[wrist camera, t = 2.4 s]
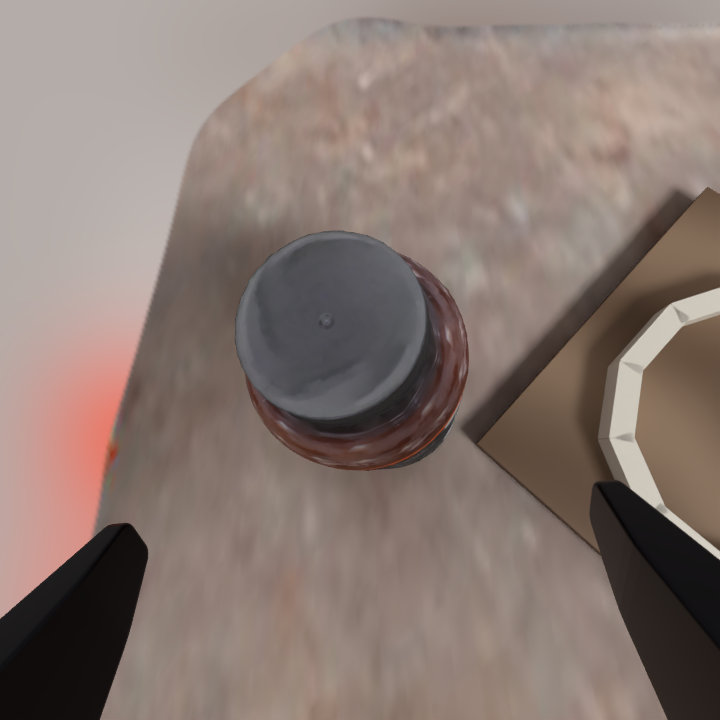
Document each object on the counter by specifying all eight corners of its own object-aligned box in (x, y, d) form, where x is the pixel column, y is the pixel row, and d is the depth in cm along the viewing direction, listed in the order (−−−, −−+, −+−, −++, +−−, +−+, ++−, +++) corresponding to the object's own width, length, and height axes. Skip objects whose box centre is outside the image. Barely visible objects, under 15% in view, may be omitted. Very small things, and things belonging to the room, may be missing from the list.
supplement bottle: (488, 402, 19) (555, 326, 8) (382, 498, 19) (309, 550, 8) (392, 305, 21) (343, 134, 10) (294, 393, 21) (135, 319, 10)
